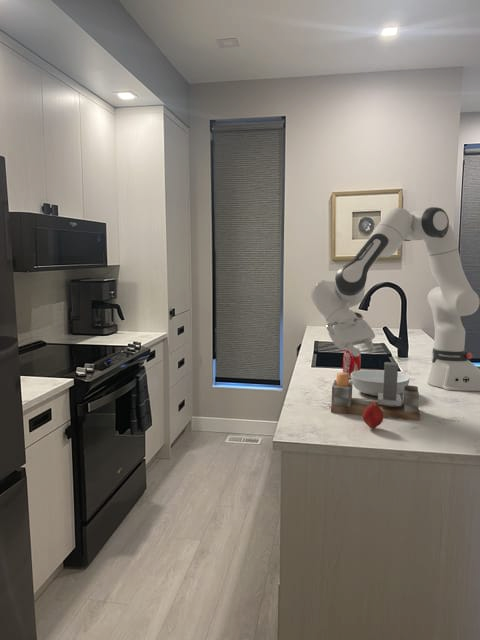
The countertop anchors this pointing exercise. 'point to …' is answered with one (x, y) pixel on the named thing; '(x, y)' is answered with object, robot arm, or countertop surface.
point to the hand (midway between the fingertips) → (365, 353)
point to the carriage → (390, 386)
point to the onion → (373, 416)
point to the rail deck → (349, 405)
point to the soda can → (351, 362)
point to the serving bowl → (375, 381)
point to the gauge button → (342, 379)
